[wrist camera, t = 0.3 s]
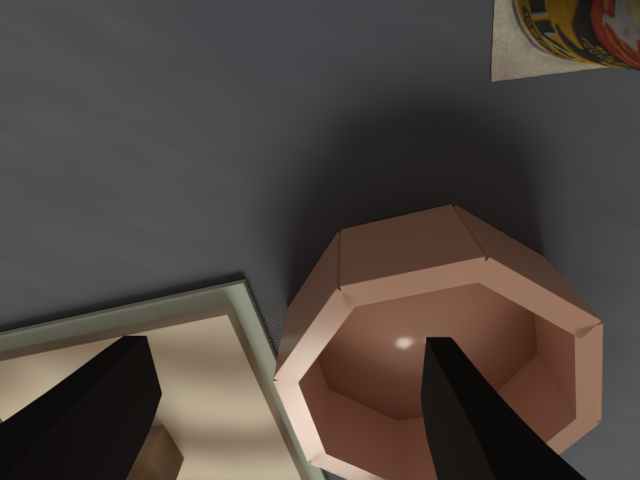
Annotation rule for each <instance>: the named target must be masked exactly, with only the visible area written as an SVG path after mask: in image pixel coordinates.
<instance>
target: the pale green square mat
mask: <svg viewBox="0 0 640 480" xmlns="http://www.w3.org/2000/svg"><path fill="white" fill-rule="evenodd" d="M230 303H232V304H233V307H234V309H235V311H236V313H237V316H238V318H239V320H240V323H241V325H242V327H243V329H244V332H245V334H246V336H247V339H248V341H249V343H250V345H251V348H252V350H253V352H254V355H255V357H256V359H257V361H258V364H259V366H260V368H261V371H262V373H263V375H264V377H265V380H266V382H267V384H268V387H269V389H270V391H271V393H272V396H273V398H274V400H275V403H276V405H277V407H278V409H279V412H280V414H281V416H282V419H283V421H284V423H285V425H286V428H287V430H288V432H289V435H290V437H291V439H292V441H293V444H294V446H295V448H296V451H297V453H298V455H299V457H300V460H301V462H302V464H303V467H304V469H305V471H306V473H307V476H308V478H309V480H327V478H326V475H325V473H324V470H323V469H322V468H319V467H317V466H314V465H312V464H310V461H308V462H307V459H306V457H305V455H304V452H303V450H302V448H301V445H300V443H299V441H298V438H297V436H296V434H295V431H294V429H293V427H292V424H291V422H290V420H289V417H288V415H287V413H286V410H285V408H284V406H283V403H282V401H281V399H280V396H279V394H278V392H277V389H276V387H275V384H274V382H273V379H274V373H275V368H276V363H277V356H276V353H275V351H274V348H273V346H272V343H271V341H270V338H269V336H268V334H267V331H266V329H265V326H264V324H263V321H262V319H261V316H260V314H259V312H258V309H257V307H256V304H255V302H254V299H253V297H252V294H251V292H250V290H249V287H248V285H247V282H246V280H245V279H242V280H238V281H233V282H229V283H224V284H220V285H215V286H210V287H206V288H201V289H197V290H192V291H187V292H183V293H178V294H174V295H169V296H164V297H160V298H155V299H151V300H146V301H142V302H137V303H132V304H128V305H123V306H119V307H114V308H109V309H105V310H100V311H96V312H91V313H86V314H82V315H77V316H73V317H68V318H64V319H59V320H54V321H50V322H45V323H41V324H36V325H31V326H27V327H22V328H18V329H13V330H8V331H4V332H0V352H1V351H5V350H10V349H15V348H20V347H24V346H29V345H34V344H39V343H44V342H48V341H53V340H58V339H63V338H67V337H72V336H77V335H82V334H87V333H91V332H96V331H101V330H106V329H111V328H115V327H120V326H125V325H130V324H134V323H139V322H144V321H149V320H154V319H158V318H163V317H168V316H173V315H177V314H182V313H187V312H192V311H197V310H201V309H206V308H211V307H216V306H220V305H225V304H230Z"/></svg>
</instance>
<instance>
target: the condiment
mask: <svg viewBox="0 0 640 480" xmlns="http://www.w3.org/2000/svg"><path fill="white" fill-rule="evenodd" d="M605 67H611V68H618V67H620V68H626V69H632V70H639V71H640V0H495V3H494V22H493V47H492V68H491V76H492V82H494V81H501V80H509V79H517V78H525V77H533V76H540V75H548V74H555V73H565V72H572V71H579V70H588V69H596V68H605Z"/></svg>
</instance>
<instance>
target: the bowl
mask: <svg viewBox="0 0 640 480" xmlns="http://www.w3.org/2000/svg"><path fill="white" fill-rule="evenodd" d="M426 337H451V338H452V339H453V340H454V341H455V342H456V343H457V344H458V346H459V347H460V348H461V349H462V351H463V352H464V353H465V354H466V356H467V357H468V358H469V359H470V361H471V362H472V363H473V364H474V366H475V367H476V368H477V369H478V370H479V372H480V373H481V374H482V375H483V376H484V378H485V379H486V380H487V381H488V382H489V383H490V385H491V386H492V387H493V388H494V389H495V390H496V391H497V393H498V394H499V395H500V396H501V397H502V398H503V399H504V400H505V401H506V403H507V404H508V405H509V406H510V407H511V408H512V409H513V410H514V411H515V412H516V413H517V414H518V416H519V417H520V418H521V419H522V420H523V421H524V422H525V423H526V424H527V425H528V426H529V427H530V428H531V429H532V430H533V431H534V432H535V433H536V434H537V435H538V436H539V437H540V438H541V439H542V440H543V441H544V442H545V443H546V444H547V445H548V446H549V447H550V448H552V449H553V450H554V451H555V452H556V453H557V454H558V455H559V454H561V453H562V452H563V451H565V450H566V449H567V448H568V447H570V446H571V445H572V444H574V443H575V442H576V441H577V440H579V439H580V438H581V437H583V436H584V435H585V434H586V433H588V432H589V431H590V430H592V429H593V428H594V427H595V426H597V425H598V424H599V421H600V420H601V415H602V357H603V323H602V322H601V320H600V319H599V318H598V317H597V315H596V314H595V313H594V312H593V311H592V310H591V309H590V308H589V307H588V305H587V304H586V303H585V302H584V301H583V300H582V299H581V298H580V296H579V295H578V294H577V293H576V292H575V291H574V290H573V289H572V288H571V286H570V285H569V284H568V283H567V282H566V281H565V280H564V279H563V278H562V276H561V275H560V274H559V273H558V272H557V271H556V270H555V269H554V267H553V266H552V265H551V264H550V263H549V262H548V261H547V260H546V259H545V257H544V256H542V255H540V254H539V253H537V252H535V251H534V250H532V249H530V248H528V247H527V246H525V245H523V244H522V243H520V242H518V241H516V240H515V239H513V238H511V237H510V236H508V235H506V234H505V233H503V232H501V231H499V230H498V229H496V228H494V227H493V226H491V225H489V224H488V223H486V222H484V221H482V220H481V219H479V218H477V217H476V216H474V215H472V214H470V213H469V212H467V211H465V210H464V209H462V208H460V207H459V206H457V205H455V206H454V207H453V206H452V204H450V205H445V206H441V207H437V208H432V209H428V210H424V211H419V212H415V213H410V214H406V215H402V216H397V217H393V218H389V219H384V220H380V221H376V222H371V223H367V224H362V225H358V226H354V227H349V228H345V229H341V233H340V232H337V233H336V235H335V236H334V238H333V239H332V241H331V243H330V244H329V246H328V247H327V249H326V250H325V252H324V253H323V255H322V256H321V258H320V259H319V261H318V262H317V264H316V265H315V267H314V268H313V270H312V272H311V273H310V275H309V276H308V278H307V279H306V281H305V282H304V284H303V285H302V287H301V288H300V290H299V291H298V293H297V294H296V296H295V297H294V299H293V301H292V302H291V304H290V305H289V307H288V308H287V313H286V318H285V323H284V328H283V333H282V338H281V343H280V348H279V353H278V358H277V363H276V368H275V373H274V379H273V382H274V384H275V387H276V389H277V392H278V394H279V396H280V399H281V401H282V403H283V406H284V408H285V410H286V413H287V415H288V417H289V420H290V422H291V424H292V427H293V429H294V431H295V434H296V436H297V438H298V441H299V443H300V445H301V448H302V450H303V452H304V455H305V457H306V459H307V462H308V461H310V464H312V465H314V466H317V467H319V468H322V469H324V470H326V471H329V472H331V473H334V474H336V475H338V476H341V477H343V478H346V479H348V480H438V479H437V476H436V472H435V468H434V464H433V461H432V457H431V453H430V449H429V445H428V441H427V437H426V431H425V425H424V419H423V412H422V405H421V398H420V396H421V386H422V375H423V365H424V354H425V344H426Z"/></svg>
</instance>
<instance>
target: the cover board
mask: <svg viewBox="0 0 640 480" xmlns="http://www.w3.org/2000/svg"><path fill="white" fill-rule="evenodd" d="M123 336H147V339H148V343H149V346H150V350H151V354H152V357H153V361H154V365H155V369H156V372H157V376H158V380H159V383H160V387H161V391H162V396H161V399H160V402H159V405H158V408H157V412H156V415H155V417H154V420H153V423H152V426H151V428H150V431H149V433H148V435H147V438H146V440H145V442H144V444H143V446H142V448H141V450H140V452H139V454H138V456H137V458H136V460H135V462H134V464H133V467H132V469H131V471H130V473H129V475H128V477H127V479H126V480H309V478H308V476H307V473H306V471H305V469H304V467H303V464H302V462H301V460H300V457H299V455H298V453H297V451H296V448H295V446H294V444H293V441H292V439H291V437H290V435H289V432H288V430H287V428H286V425H285V423H284V421H283V419H282V416H281V414H280V412H279V409H278V407H277V405H276V403H275V400H274V398H273V396H272V393H271V391H270V389H269V387H268V384H267V382H266V380H265V377H264V375H263V373H262V371H261V368H260V366H259V364H258V361H257V359H256V357H255V355H254V352H253V350H252V348H251V345H250V343H249V341H248V339H247V336H246V334H245V332H244V329H243V327H242V325H241V323H240V320H239V318H238V316H237V313H236V311H235V309H234V307H233V304H232V303H230V304H225V305H220V306H216V307H211V308H206V309H201V310H197V311H192V312H187V313H182V314H177V315H173V316H168V317H163V318H158V319H154V320H149V321H144V322H139V323H134V324H130V325H125V326H120V327H115V328H111V329H106V330H101V331H96V332H91V333H87V334H82V335H77V336H72V337H67V338H63V339H58V340H53V341H48V342H44V343H39V344H34V345H29V346H24V347H20V348H15V349H10V350H5V351H1V352H0V418H1V419H2V421H3V422H4V421H5V420H7V419H8V418H9V417H11V416H12V415H14V414H15V413H17V412H18V411H20V410H21V409H23V408H24V407H25V406H27V405H28V404H30V403H31V402H33V401H34V400H36V399H37V398H38V397H40V396H41V395H43V394H44V393H46V392H47V391H49V390H50V389H51V388H53V387H54V386H55V385H57V384H58V383H59V382H61V381H62V380H64V379H65V378H66V377H68V376H69V375H70V374H72V373H73V372H74V371H76V370H77V369H78V368H80V367H81V366H82V365H84V364H85V363H87V362H88V361H89V360H91V359H92V358H93V357H95V356H96V355H97V354H99V353H100V352H101V351H103V350H104V349H105V348H107V347H108V346H110V345H111V344H112V343H114V342H115V341H117V340H118V339H120V338H121V337H123Z"/></svg>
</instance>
